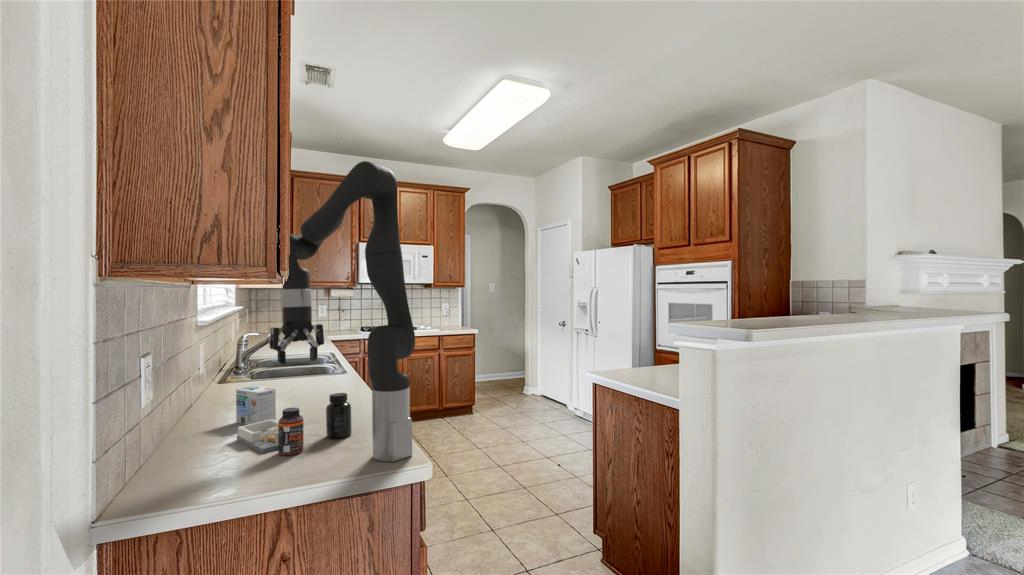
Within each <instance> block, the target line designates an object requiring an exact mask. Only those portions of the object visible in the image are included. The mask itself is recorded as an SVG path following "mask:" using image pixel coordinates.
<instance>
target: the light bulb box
mask: <svg viewBox="0 0 1024 575" xmlns="http://www.w3.org/2000/svg"><path fill="white" fill-rule="evenodd" d="M276 389H277V388H275V387H268V386H260V385H251V386H246V387H242V388H238V389H236V390H235V391H236V392H235V394H236V397H235V398H236V400H235V401H236V402H235V403H236V405H235V407H236V408H235V409H236V411H235V412H236V415H235V416H236V417H235V418H236V419H235V420H236V423H238V424H241V425H249V424H254V423H258V422H263V421H267V420H272V419H273V420H276V421H277V417H276V416H277V414H276V412H277V411H276V410H277V409H276V407H277V406H276V405H277V404H276V403H277V402H276V400H277V399H276V398H277V397H276V394H277V393H276Z"/></svg>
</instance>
